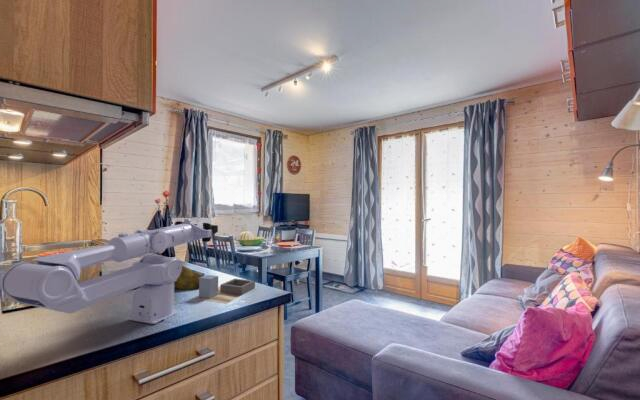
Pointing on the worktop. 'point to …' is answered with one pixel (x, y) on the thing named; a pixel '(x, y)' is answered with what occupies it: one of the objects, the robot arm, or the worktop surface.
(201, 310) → the worktop surface
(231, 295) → the board
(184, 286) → the potato
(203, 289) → the plug
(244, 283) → the frame
